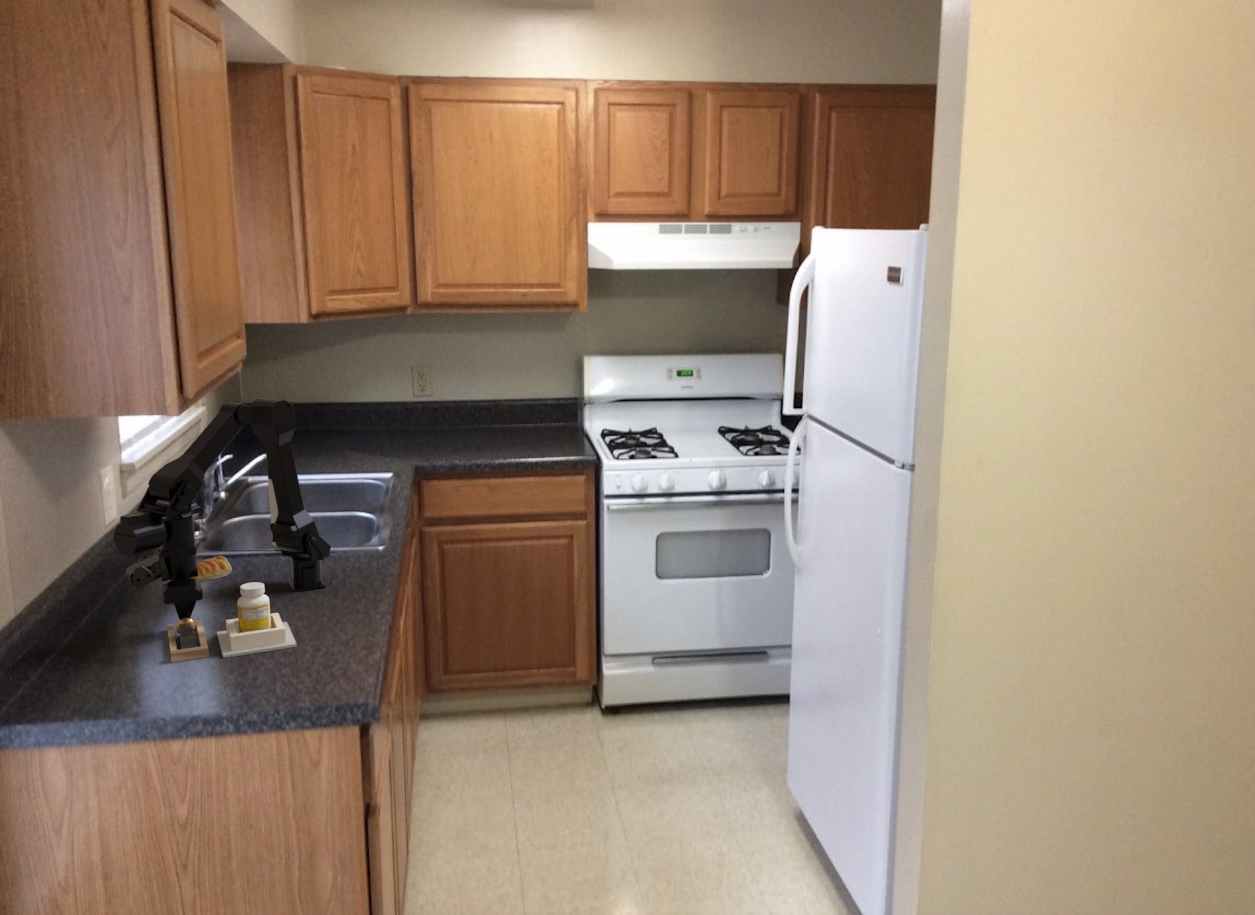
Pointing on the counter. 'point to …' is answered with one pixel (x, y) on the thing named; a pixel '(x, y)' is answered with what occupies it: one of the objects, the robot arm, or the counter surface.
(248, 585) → the supplement bottle
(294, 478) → the robot arm
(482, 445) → the counter surface
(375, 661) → the counter surface
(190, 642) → the lock pin
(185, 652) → the mount
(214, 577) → the pastry
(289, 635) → the socket
